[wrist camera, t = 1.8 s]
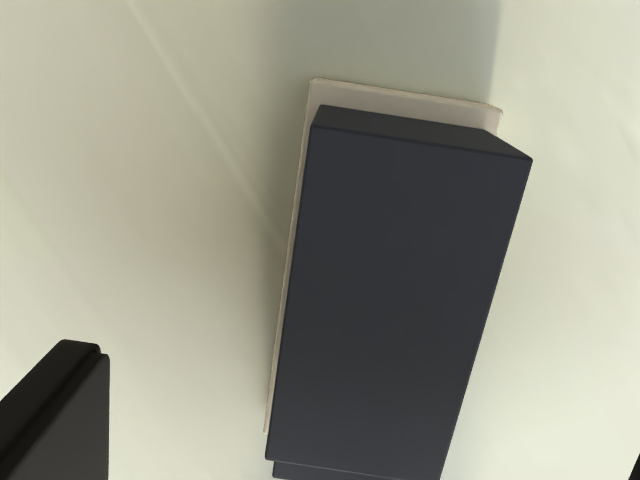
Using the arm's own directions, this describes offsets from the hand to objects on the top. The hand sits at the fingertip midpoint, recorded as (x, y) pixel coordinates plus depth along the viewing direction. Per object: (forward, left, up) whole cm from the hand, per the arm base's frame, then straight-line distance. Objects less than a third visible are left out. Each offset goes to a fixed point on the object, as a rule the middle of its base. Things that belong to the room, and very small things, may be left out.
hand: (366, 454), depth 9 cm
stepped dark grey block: (0, 0, -7) cm, 7 cm away
